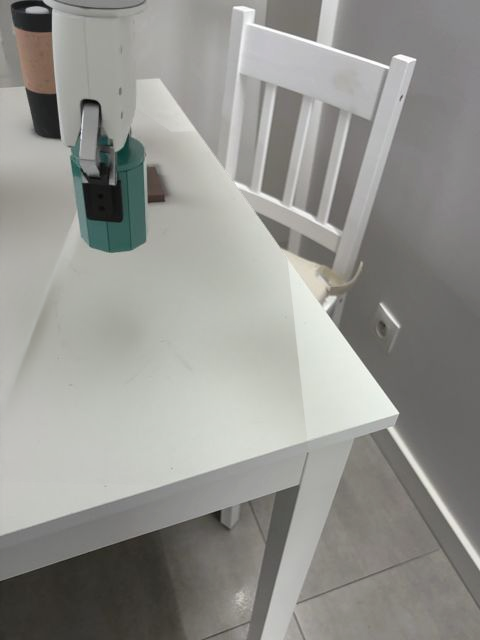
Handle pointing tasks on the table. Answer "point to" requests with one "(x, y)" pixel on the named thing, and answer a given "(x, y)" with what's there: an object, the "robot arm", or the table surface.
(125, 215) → the cup
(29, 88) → the travel mug
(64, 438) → the table surface
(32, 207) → the table surface
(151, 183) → the cup stand
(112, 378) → the table surface
